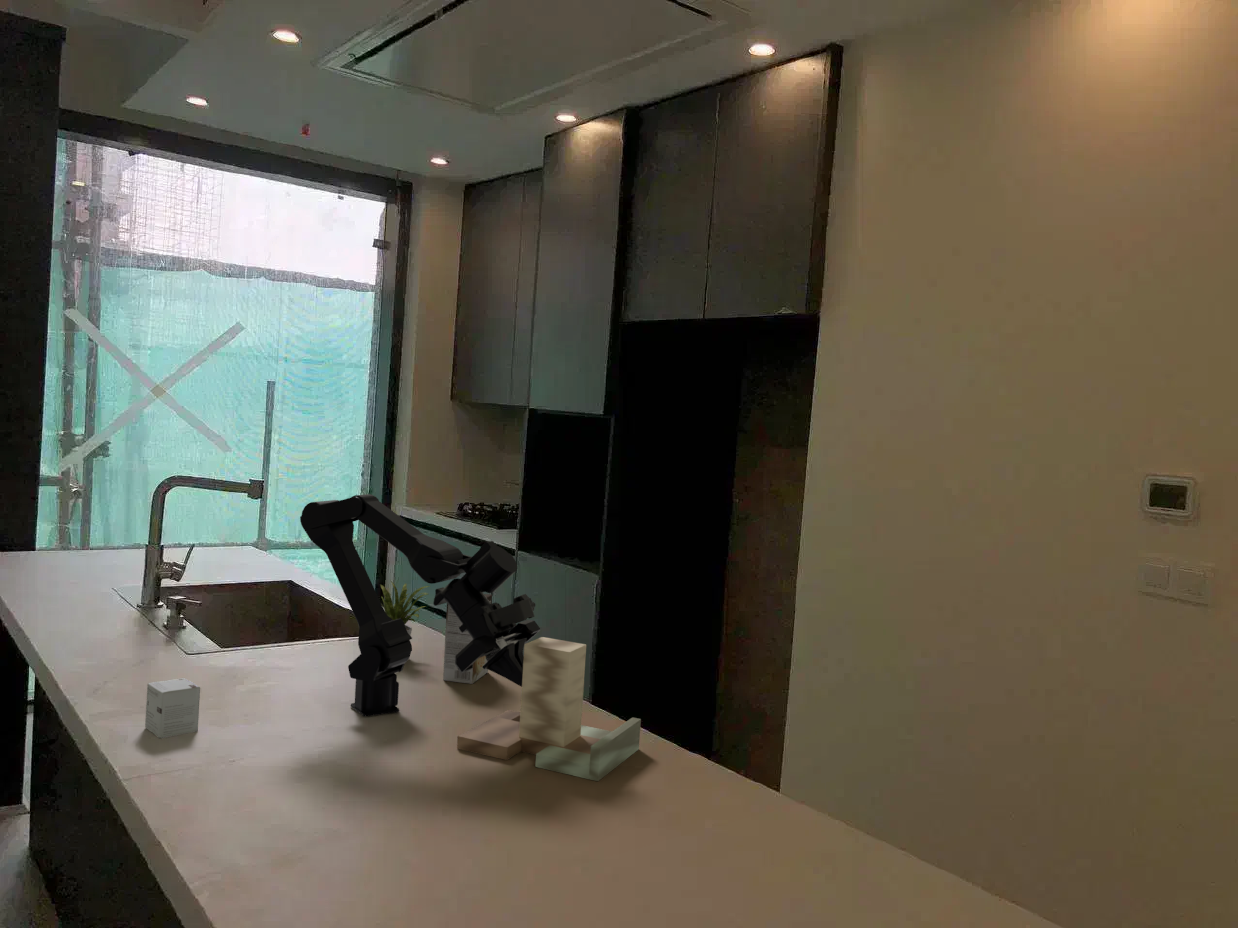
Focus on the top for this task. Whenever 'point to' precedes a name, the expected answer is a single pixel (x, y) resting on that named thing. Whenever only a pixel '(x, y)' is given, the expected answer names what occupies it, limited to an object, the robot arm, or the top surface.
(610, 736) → the trap runway
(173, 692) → the skincare box
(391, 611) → the house plant
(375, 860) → the top surface
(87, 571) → the top surface
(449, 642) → the coffee box
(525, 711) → the beech block
